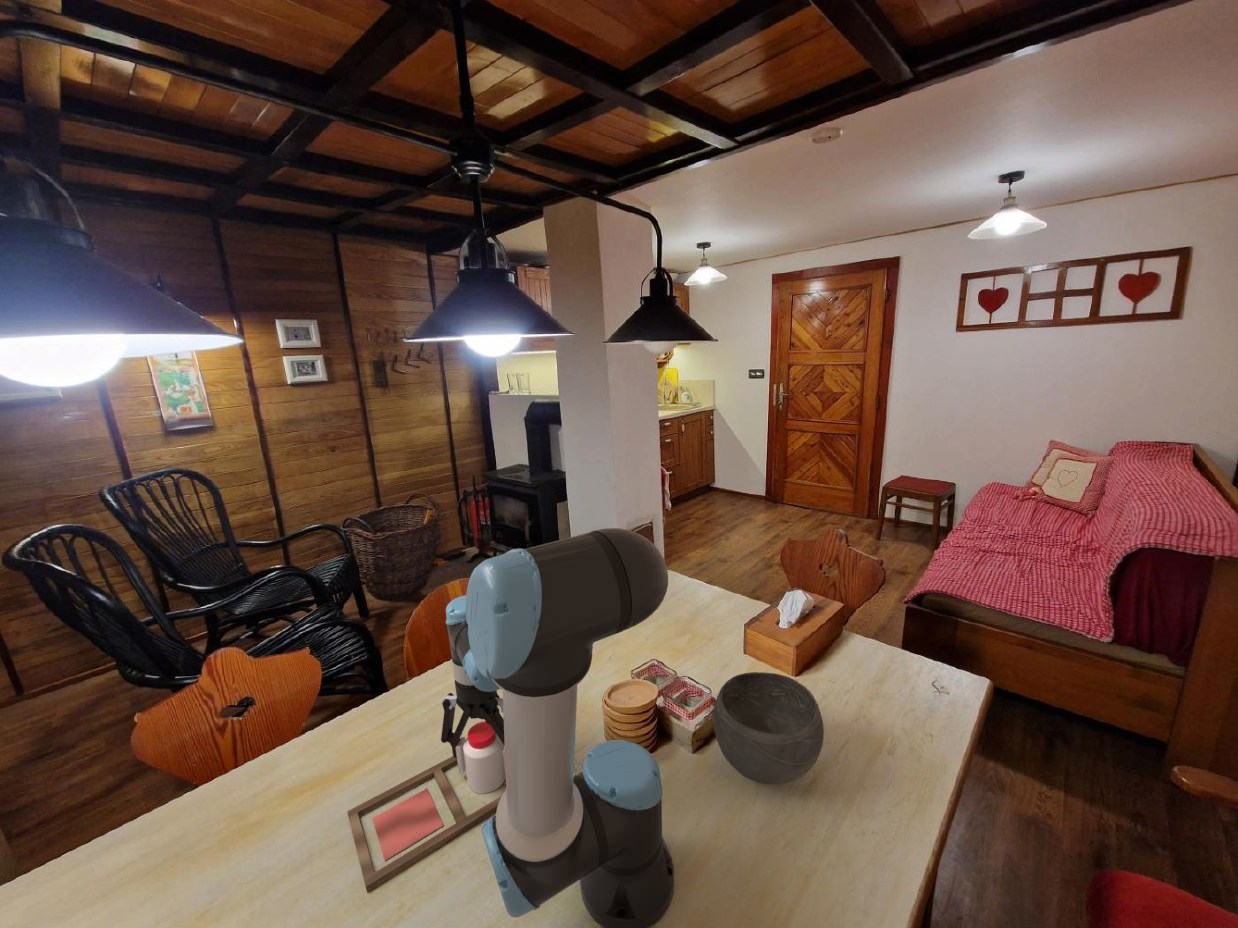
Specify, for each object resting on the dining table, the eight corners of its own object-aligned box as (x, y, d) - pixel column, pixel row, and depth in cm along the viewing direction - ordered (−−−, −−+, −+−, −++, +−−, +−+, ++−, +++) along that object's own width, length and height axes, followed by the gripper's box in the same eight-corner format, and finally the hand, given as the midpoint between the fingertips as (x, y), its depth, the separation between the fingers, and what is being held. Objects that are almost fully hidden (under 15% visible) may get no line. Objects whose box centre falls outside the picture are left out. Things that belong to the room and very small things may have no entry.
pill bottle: (496, 796, 96) (491, 749, 93) (460, 790, 97) (453, 743, 95) (512, 763, 103) (508, 719, 100) (478, 759, 104) (473, 714, 102)
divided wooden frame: (544, 781, 98) (544, 776, 98) (367, 892, 79) (365, 886, 79) (508, 731, 112) (507, 727, 111) (348, 816, 93) (347, 811, 92)
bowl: (826, 744, 105) (830, 682, 101) (812, 829, 87) (817, 758, 83) (729, 713, 115) (730, 656, 111) (699, 783, 97) (699, 718, 93)
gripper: (535, 664, 96) (543, 759, 102) (431, 659, 99) (444, 751, 105) (523, 690, 89) (533, 791, 95) (411, 683, 92) (426, 782, 98)
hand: (486, 770), depth 100 cm, fingers open, 9 cm apart
